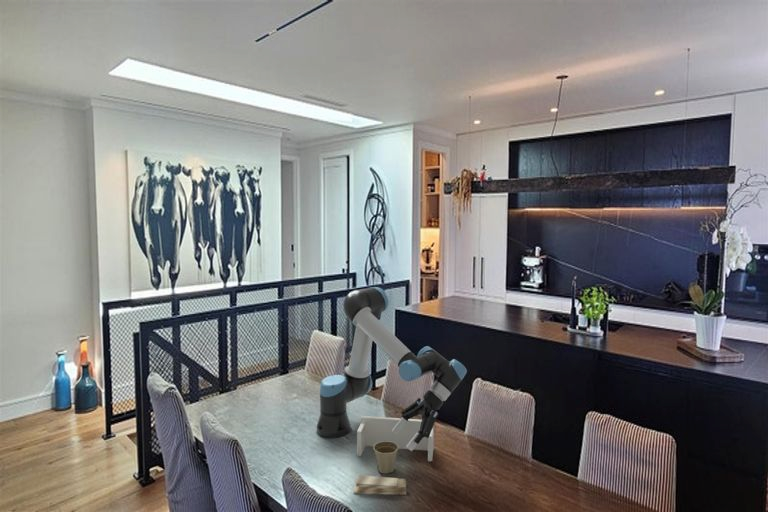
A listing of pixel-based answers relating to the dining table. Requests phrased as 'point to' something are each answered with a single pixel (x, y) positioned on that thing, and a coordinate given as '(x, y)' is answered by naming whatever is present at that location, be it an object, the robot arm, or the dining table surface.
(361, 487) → the offcut stack
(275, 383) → the dining table surface
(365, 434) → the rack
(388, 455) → the flower pot
